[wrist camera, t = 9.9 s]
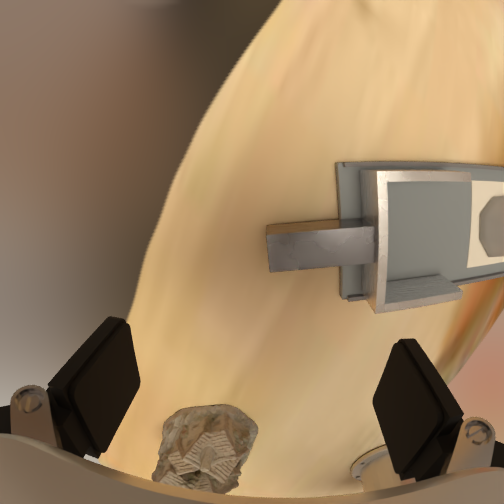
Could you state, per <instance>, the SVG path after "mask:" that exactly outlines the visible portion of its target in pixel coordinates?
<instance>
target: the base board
mask: <svg viewBox="0 0 504 504" xmlns="http://www.w3.org/2000/svg"><path fill="white" fill-rule="evenodd" d="M335 166H336V179H337V193H338V210H339V219H353V218H362V202H361V183H360V170H374V169H434V170H452V171H461V172H470V173H471V182H451V181H404V182H387V192H388V258H387V278H386V282H389V281H397V280H405V279H412V278H420V277H427V276H434V275H441V274H442V275H443V276H444V277H446V278H447V279H448V280H449V281H451V282H452V283H453V284H455V285H456V286H458V285H463V284H469V283H474V282H479V281H484V280H489V279H494V278H498V277H503V276H504V256H502V257H488V255H487V253H486V251H485V249H484V247H483V245H482V243H481V241H480V221H481V213H482V212H483V210H484V209H485V208H486V206H487V205H488V204H489V202H490V201H491V200H492V198H493V197H497V196H504V167H498V166H487V165H475V164H460V163H441V162H396V161H389V162H343V163H335ZM340 296H341V298H342V299H347V300H348V302H350V301H358V300H366V298H365V297H364V295H363V294H362V264H356V265H346V266H340Z"/></svg>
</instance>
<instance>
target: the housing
mask: <svg viewBox="0 0 504 504" xmlns="http://www.w3.org/2000/svg"><path fill="white" fill-rule="evenodd" d="M404 181H451V182H471V173H470V172H461V171H452V170H434V169H374V170H360V183H361V202H362V218H353V219H339V220H326V221H313V222H300V223H288V224H277V225H267V231H266V238H267V248H268V258H269V269H270V272H279V271H291V270H302V269H314V268H325V267H335V266H346V265H356V264H362V294H363V295H364V297H365V298H366V300H367V302H368V303H369V305H370V306H371V308H372V309H373V311H374V313H375V314H377V313H384V312H391V311H397V310H404V309H410V308H416V307H421V306H427V305H432V304H438V303H443V302H448V301H453V300H458V299H462V293H463V291H462V290H461V289H460V288H458V287H457V286H456V285H455V284H453V283H452V282H451V281H449V280H448V279H447V278H446V277H444V276H443V275H442V274H441V275H434V276H427V277H420V278H412V279H405V280H397V281H389V282H386V278H387V258H388V192H387V182H404Z"/></svg>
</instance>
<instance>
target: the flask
mask: <svg viewBox="0 0 504 504" xmlns="http://www.w3.org/2000/svg"><path fill="white" fill-rule="evenodd" d="M480 241H481V243H482V245H483V247H484V249H485V251H486V253H487V255H488V257H502V256H504V196H497V197H493V198H492V200H491V201H490V202H489V204H488V205H487V206H486V208H485V209H484V210H483V212H482V213H481V221H480Z"/></svg>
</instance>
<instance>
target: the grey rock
mask: <svg viewBox="0 0 504 504" xmlns="http://www.w3.org/2000/svg"><path fill="white" fill-rule="evenodd" d="M162 434H163V440H162V442H161V446H160V449H159V452H158V454H159V458H160V459H159V460H158V464H157V467H156V470H155V471H154V472H153V473H152V480H153V481H155V482H159V483H163V484H167V485H172V486H176V487H181V488H186V489H192V490H198V491H204V492H210V493H218V494H225V493H227V492H229V491H231V490H232V489H234V488H236V487H238V486H239V483H238V481H237V480H238V476H240V475H241V472H240V468H241V466H243V464H244V463H245V462H246V460H247V458H248V456H249V453H250V450H251V449H252V446H253V443H254V441H255V438H256V436H257V434H258V426H257V425H256V423H254V421H252V420H251V419H250V418H248V417H247V416H246V415H245V414H244V413H243V412H242V411H241V410H240V409H238V408H236V407H234V406H230V405H224V404H220V405H219V406H218V405H214V406H203V407H202V406H201V407H189V408H185V409H181V410H180V411H178V412H176V413H175V414H174V415H172V416H170V417H169V418H168V419H167V420H166V422H165V423H164V425H163V432H162Z"/></svg>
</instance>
